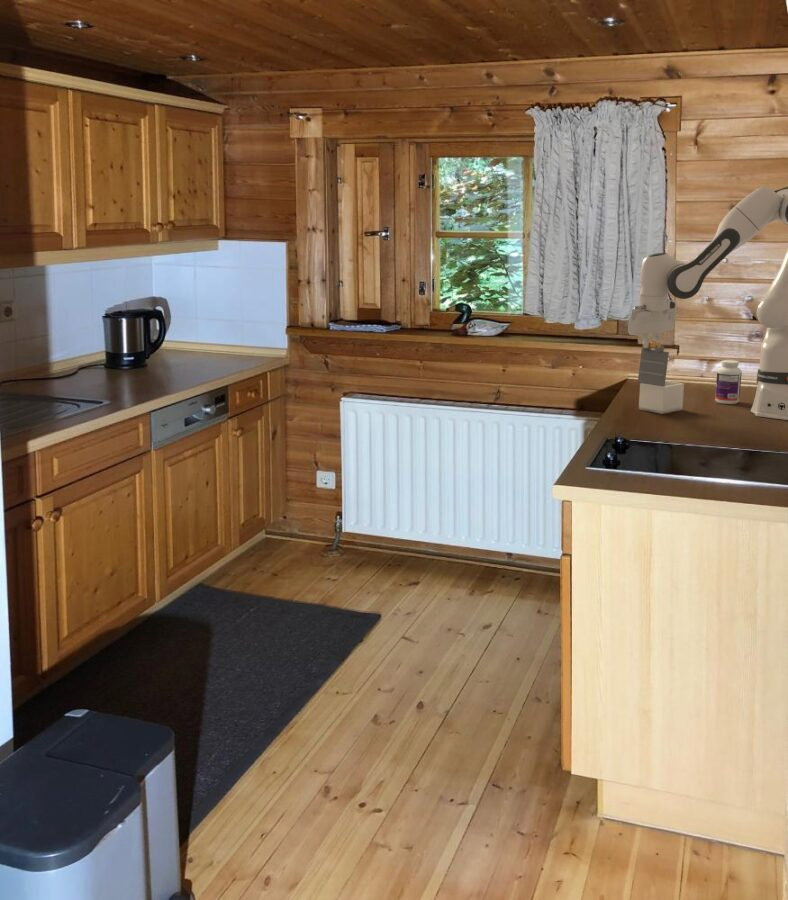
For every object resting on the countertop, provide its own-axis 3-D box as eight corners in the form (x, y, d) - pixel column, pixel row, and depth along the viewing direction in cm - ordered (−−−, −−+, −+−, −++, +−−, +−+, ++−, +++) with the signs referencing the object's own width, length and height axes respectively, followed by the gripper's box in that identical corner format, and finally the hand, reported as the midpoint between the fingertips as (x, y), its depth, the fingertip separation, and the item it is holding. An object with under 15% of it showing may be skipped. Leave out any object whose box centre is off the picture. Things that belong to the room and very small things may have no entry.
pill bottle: (722, 399, 369) (725, 358, 366) (743, 402, 364) (746, 361, 361) (710, 402, 364) (713, 361, 361) (731, 405, 358) (735, 363, 355)
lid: (664, 386, 342) (657, 386, 340) (639, 382, 350) (632, 382, 348) (669, 343, 340) (663, 343, 338) (644, 340, 348) (637, 340, 345)
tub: (682, 409, 352) (684, 383, 350) (662, 413, 345) (663, 387, 343) (658, 405, 359) (660, 379, 357) (638, 409, 352) (640, 383, 350)
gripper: (640, 307, 330) (638, 351, 333) (680, 303, 343) (677, 345, 346) (624, 305, 335) (622, 348, 338) (663, 301, 348) (661, 343, 351)
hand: (650, 347), depth 342 cm, fingers open, 2 cm apart
